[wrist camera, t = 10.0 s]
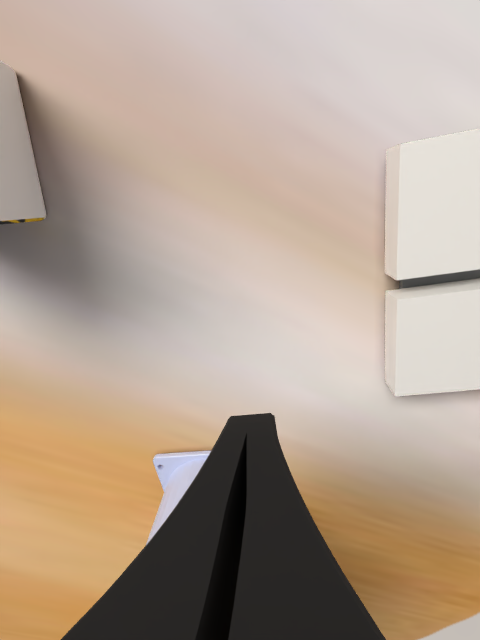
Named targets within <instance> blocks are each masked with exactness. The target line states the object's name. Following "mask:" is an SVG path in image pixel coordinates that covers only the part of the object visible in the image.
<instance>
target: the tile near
mask: <svg viewBox="0 0 480 640" xmlns="http://www.w3.org/2000/svg"><path fill="white" fill-rule="evenodd" d="M478 269H480V128H478V129H473V130H468V131H463V132H458V133H453V134H448V135H442V136H437V137H432V138H427V139H422V140H417V141H412V142H406V143H401V144H398V145H396V146H394V147H391V148H389V149H387V150H386V203H385V274H387V275H389V276H390V277H392V278H393V279H395V280H403V279H411V278H418V277H426V276H433V275H441V274H448V273H456V272H463V271H471V270H478Z"/></svg>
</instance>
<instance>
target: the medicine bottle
mask: <svg viewBox="0 0 480 640" xmlns="http://www.w3.org/2000/svg"><path fill="white" fill-rule="evenodd" d="M45 218H46V210H45V205H44V200H43V196H42V191H41V186H40V182H39V177H38V172H37V168H36V163H35V159H34V154H33V149H32V145H31V140H30V135H29V131H28V126H27V122H26V117H25V112H24V108H23V103H22V98H21V94H20V89H19V85H18V80H17V75H16V73H15V70H14V69H13V68H12V67H11V66H10V65H8V64H6V63H4V62H3V61H1V60H0V224H10V223H21V222H32V221H41V220H44V219H45Z"/></svg>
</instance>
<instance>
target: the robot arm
mask: <svg viewBox="0 0 480 640" xmlns="http://www.w3.org/2000/svg"><path fill="white" fill-rule="evenodd" d="M153 463H154V466H155V468H156V471H157V474H158V477H159V479H160V482H161V485H162V487H163V490H164V495H163V498H162V501H161V504H160V506H159V509H158V512H157V515H156V518H155V521H154V524H153V526H152V529H151V532H150V535H149V538H148V541H147V543H146V546H145V547H144V549H143V550H142V551H141V552H140V553H139V554H138V556H137V557H136V558H135V559H134V560H133V562H132V563H131V564H130V565H129V566H128V568H127V569H126V570H125V571H124V572H123V573H122V575H121V576H120V577H119V578H118V579H117V580H116V581H115V583H114V584H113V585H112V586H111V587H110V588H109V589H108V590H107V591H106V593H105V594H104V595H103V596H102V597H101V598H100V599H99V600H98V601H97V602H96V603H95V604H94V605H93V606H92V607H91V609H90V610H89V611H88V612H87V613H86V614H85V615H84V616H83V617H82V618H81V619H80V620H79V621H78V622H77V623H76V624H75V625H74V626H73V627H72V628H71V629H70V630H69V631H68V633H67V634H66V635H65V636H64V637H63V638H62V639H61V640H386V639H385V637H384V636H383V634H382V633H381V632H380V630H379V628H378V627H377V625H376V624H375V622H374V621H373V619H372V617H371V616H370V614H369V613H368V611H367V610H366V608H365V606H364V605H363V603H362V602H361V600H360V598H359V597H358V595H357V594H356V592H355V591H354V589H353V587H352V586H351V584H350V583H349V581H348V580H347V578H346V576H345V575H344V573H343V572H342V570H341V568H340V566H339V565H338V563H337V561H336V560H335V558H334V556H333V555H332V553H331V551H330V549H329V548H328V546H327V544H326V542H325V541H324V539H323V537H322V535H321V533H320V532H319V530H318V528H317V526H316V524H315V522H314V520H313V519H312V517H311V515H310V513H309V511H308V509H307V507H306V505H305V503H304V501H303V499H302V497H301V495H300V492H299V490H298V488H297V486H296V484H295V482H294V479H293V477H292V475H291V472H290V470H289V467H288V465H287V462H286V460H285V458H284V455H283V452H282V449H281V446H280V443H279V440H278V436H277V430H276V424H275V417H274V415H272V414H271V413H266V414H253V415H241V416H231V417H230V418H229V419H228V421H227V423H226V425H225V427H224V429H223V431H222V433H221V434H220V436H219V438H218V440H217V442H216V444H215V445H214V447H213V449H212V451H196V452H181V453H165V454H157V455H155V457H154V459H153Z"/></svg>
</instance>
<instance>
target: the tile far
mask: <svg viewBox="0 0 480 640" xmlns="http://www.w3.org/2000/svg"><path fill="white" fill-rule="evenodd" d="M385 382H386V384H387V385H388V387H389V388H390V390H391V391H392V393H393V394H394V396H395V397H396V396H408V395H420V394H431V393H443V392H455V391H467V390H478V389H480V278H477V279H470V280H462V281H455V282H447V283H440V284H432V285H425V286H417V287H410V288H402V289H395V290H387V291H385Z"/></svg>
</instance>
